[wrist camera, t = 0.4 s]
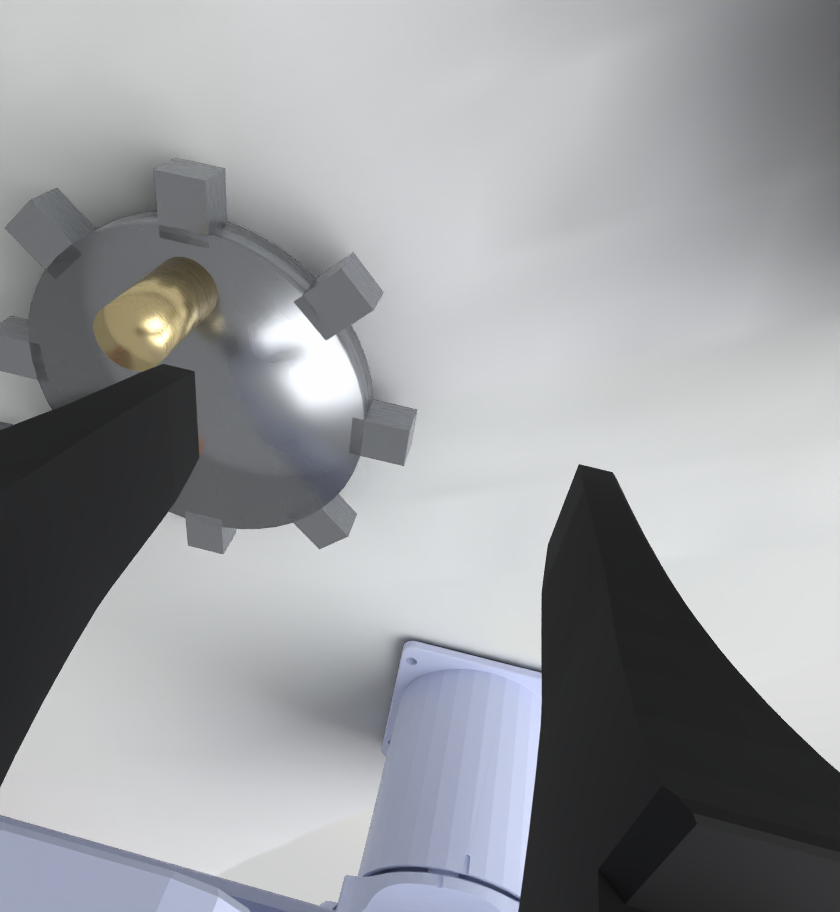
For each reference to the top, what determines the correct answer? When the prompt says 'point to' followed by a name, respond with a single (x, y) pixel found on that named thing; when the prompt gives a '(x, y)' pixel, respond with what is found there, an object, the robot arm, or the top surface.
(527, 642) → the top surface
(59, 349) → the sprocket
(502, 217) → the top surface
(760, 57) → the top surface
